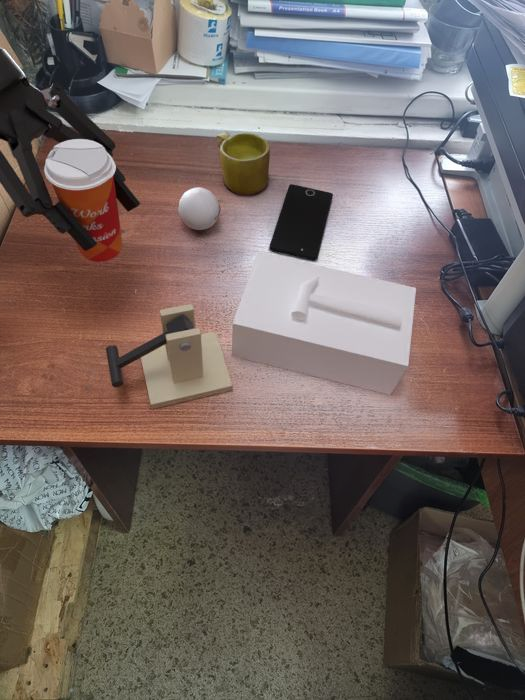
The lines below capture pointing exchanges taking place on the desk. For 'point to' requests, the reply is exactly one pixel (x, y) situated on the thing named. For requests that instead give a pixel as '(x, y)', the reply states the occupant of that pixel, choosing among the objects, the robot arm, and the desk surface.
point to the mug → (244, 162)
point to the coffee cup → (88, 193)
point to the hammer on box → (325, 323)
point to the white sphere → (199, 208)
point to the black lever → (142, 349)
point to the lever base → (185, 364)
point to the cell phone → (301, 222)
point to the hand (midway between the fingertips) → (113, 226)
